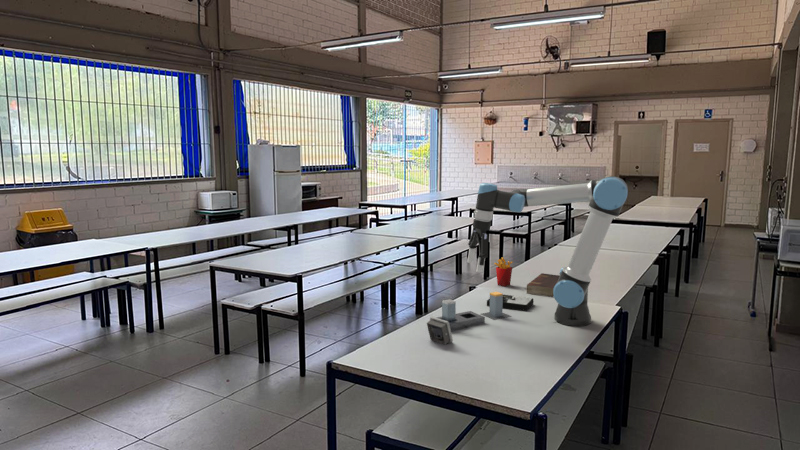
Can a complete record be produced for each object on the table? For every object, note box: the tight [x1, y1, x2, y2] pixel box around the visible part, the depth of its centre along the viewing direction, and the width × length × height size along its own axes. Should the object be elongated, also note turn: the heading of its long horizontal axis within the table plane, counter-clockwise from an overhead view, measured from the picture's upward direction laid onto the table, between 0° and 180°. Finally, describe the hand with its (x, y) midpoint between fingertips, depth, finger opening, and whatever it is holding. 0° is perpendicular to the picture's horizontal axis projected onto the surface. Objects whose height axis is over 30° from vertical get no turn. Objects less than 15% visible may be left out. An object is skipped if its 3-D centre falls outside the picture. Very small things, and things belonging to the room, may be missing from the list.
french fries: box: [494, 257, 514, 287], centre depth 291 cm, size 9×8×15 cm
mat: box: [480, 311, 512, 321], centre depth 238 cm, size 10×10×1 cm
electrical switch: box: [426, 316, 454, 345], centre depth 206 cm, size 9×5×9 cm, turn 44°
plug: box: [489, 291, 504, 317], centre depth 237 cm, size 4×4×10 cm
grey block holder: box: [435, 299, 486, 332], centre depth 226 cm, size 10×20×11 cm, turn 119°
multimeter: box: [486, 294, 535, 312], centre depth 253 cm, size 13×19×5 cm
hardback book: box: [526, 272, 560, 298], centre depth 282 cm, size 29×19×5 cm, turn 150°
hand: (474, 267), depth 231 cm, fingers open, 13 cm apart
